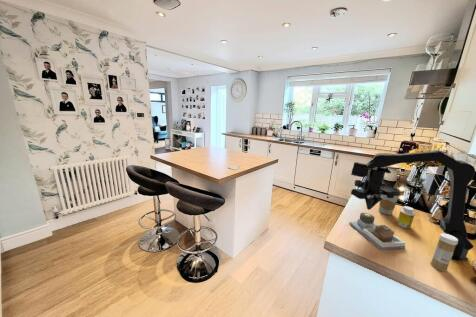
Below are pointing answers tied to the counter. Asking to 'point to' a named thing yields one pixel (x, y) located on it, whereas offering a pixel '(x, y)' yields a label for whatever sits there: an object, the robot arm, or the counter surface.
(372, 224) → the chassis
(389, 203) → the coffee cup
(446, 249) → the sprinkles bottle
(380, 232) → the brown block
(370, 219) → the wheel
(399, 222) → the supplement bottle
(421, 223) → the counter surface
